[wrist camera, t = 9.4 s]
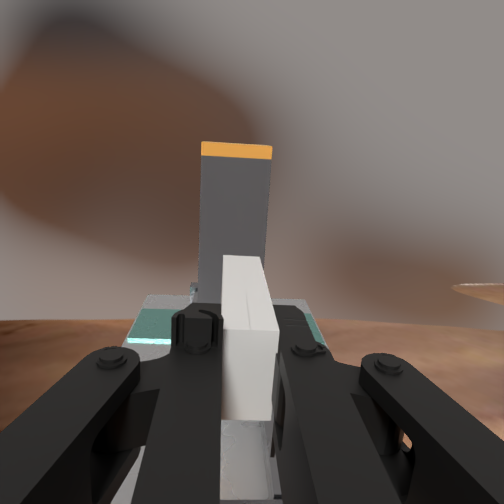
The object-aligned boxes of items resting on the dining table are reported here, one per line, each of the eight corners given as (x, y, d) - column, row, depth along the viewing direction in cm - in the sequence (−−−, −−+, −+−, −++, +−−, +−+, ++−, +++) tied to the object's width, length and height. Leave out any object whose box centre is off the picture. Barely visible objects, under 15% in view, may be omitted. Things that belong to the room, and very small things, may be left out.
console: (427, 616, 14) (445, 541, 13) (9, 627, 13) (-2, 546, 12) (302, 319, 37) (306, 285, 36) (148, 315, 36) (147, 279, 35)
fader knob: (259, 332, 29) (272, 146, 25) (196, 330, 28) (201, 142, 25) (255, 309, 33) (266, 145, 29) (200, 307, 32) (205, 141, 29)
